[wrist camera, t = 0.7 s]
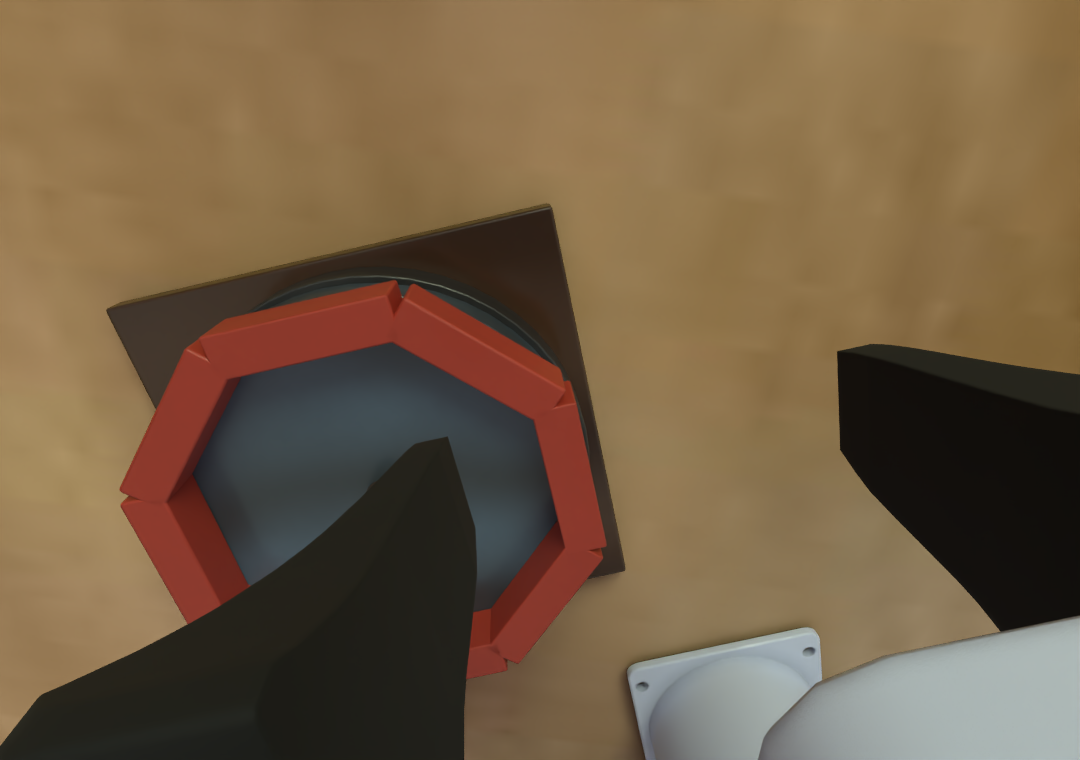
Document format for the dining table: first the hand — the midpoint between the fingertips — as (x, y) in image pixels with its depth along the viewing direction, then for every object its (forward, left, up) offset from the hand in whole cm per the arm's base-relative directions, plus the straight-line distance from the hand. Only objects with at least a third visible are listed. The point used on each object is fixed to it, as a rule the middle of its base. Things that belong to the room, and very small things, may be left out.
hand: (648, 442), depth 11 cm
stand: (-3, +7, -10) cm, 12 cm away
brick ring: (-3, +7, -6) cm, 10 cm away
